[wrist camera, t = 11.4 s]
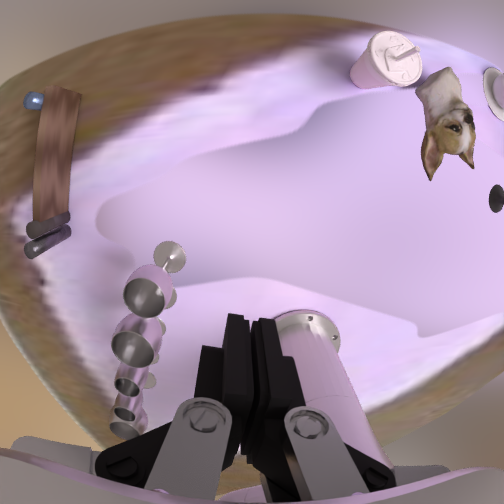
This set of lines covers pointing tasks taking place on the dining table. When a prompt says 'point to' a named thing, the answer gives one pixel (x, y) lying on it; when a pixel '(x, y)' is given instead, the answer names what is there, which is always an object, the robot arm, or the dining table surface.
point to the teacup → (494, 91)
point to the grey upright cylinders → (58, 234)
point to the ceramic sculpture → (445, 121)
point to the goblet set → (142, 337)
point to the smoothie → (387, 62)
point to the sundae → (496, 198)
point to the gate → (53, 160)
